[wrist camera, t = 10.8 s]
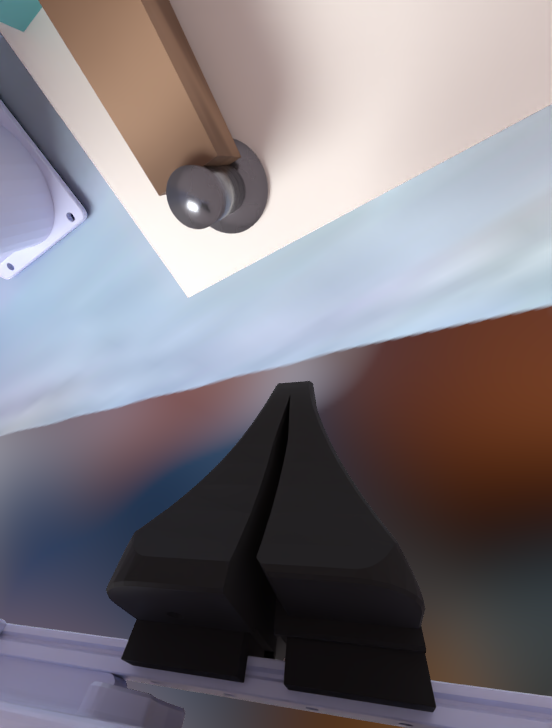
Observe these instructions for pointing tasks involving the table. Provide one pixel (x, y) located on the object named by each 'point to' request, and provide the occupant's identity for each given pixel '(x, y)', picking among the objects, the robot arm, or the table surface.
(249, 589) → the robot arm
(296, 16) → the board
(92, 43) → the folding leg
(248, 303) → the table surface
